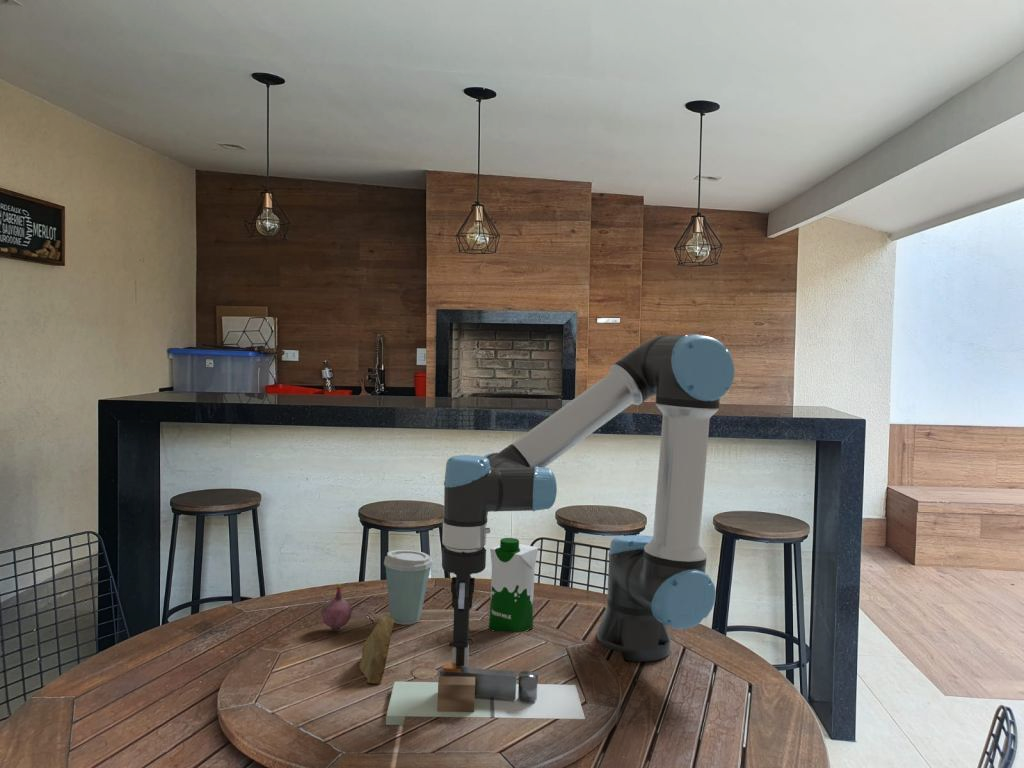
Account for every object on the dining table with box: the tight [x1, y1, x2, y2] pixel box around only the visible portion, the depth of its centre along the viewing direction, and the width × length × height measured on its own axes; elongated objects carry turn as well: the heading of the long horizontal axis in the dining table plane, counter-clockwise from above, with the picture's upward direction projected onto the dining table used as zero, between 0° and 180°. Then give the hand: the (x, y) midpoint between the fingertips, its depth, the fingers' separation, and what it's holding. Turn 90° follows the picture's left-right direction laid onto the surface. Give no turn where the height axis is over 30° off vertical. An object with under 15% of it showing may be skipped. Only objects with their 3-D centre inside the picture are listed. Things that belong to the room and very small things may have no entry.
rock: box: [358, 614, 394, 684], centre depth 137 cm, size 11×9×10 cm
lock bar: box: [438, 662, 539, 702], centre depth 126 cm, size 17×3×5 cm, turn 86°
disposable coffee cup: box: [383, 549, 433, 626], centre depth 163 cm, size 11×11×15 cm
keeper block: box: [437, 676, 475, 712], centre depth 122 cm, size 6×3×4 cm, turn 93°
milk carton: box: [488, 537, 539, 633], centre depth 160 cm, size 9×9×20 cm
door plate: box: [385, 681, 586, 726], centre depth 125 cm, size 32×12×2 cm, turn 93°
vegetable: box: [320, 582, 353, 631], centre depth 155 cm, size 6×6×10 cm
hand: (459, 680), depth 128 cm, fingers closed
